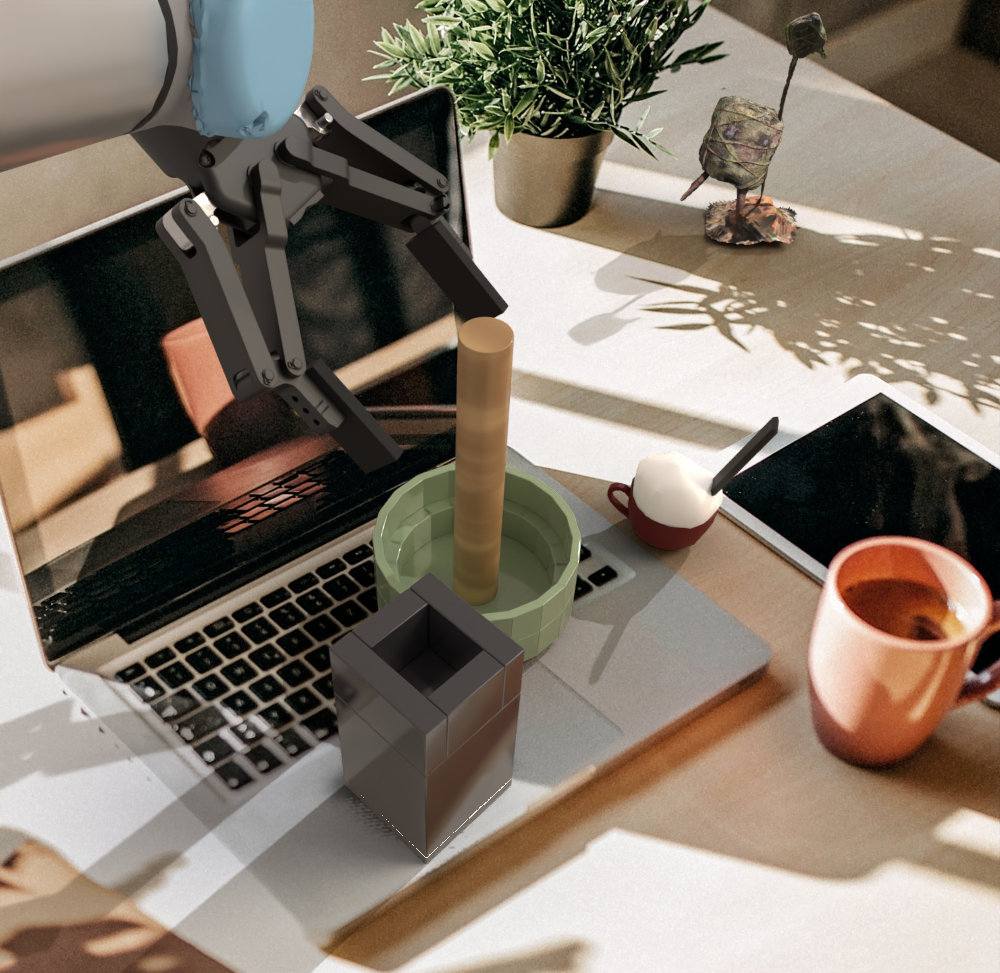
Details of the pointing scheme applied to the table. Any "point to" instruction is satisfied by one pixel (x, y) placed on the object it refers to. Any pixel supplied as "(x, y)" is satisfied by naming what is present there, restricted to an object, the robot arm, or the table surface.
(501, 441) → the stirring stick
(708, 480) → the cocoa
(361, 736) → the box
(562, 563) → the bowl
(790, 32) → the bird figurine
